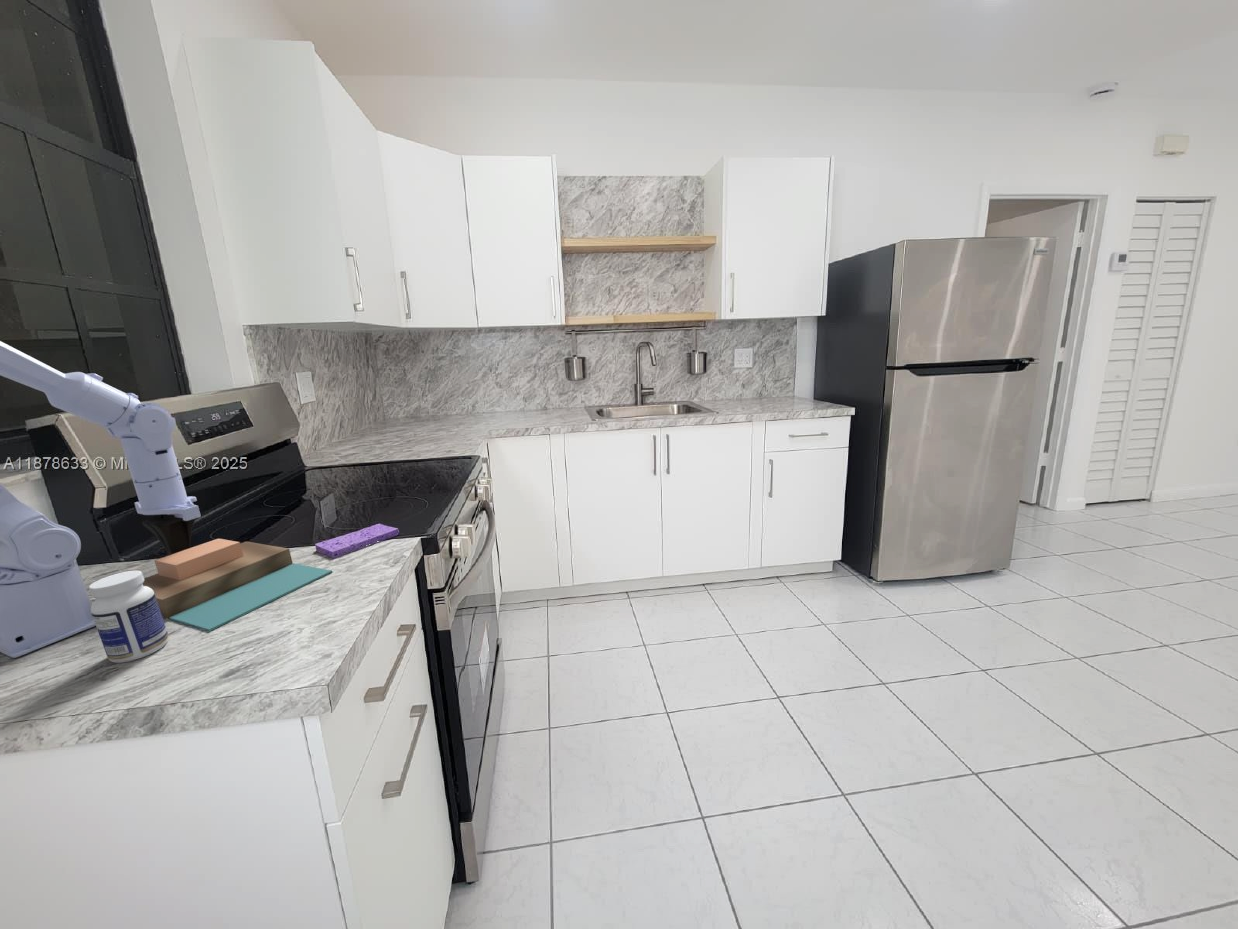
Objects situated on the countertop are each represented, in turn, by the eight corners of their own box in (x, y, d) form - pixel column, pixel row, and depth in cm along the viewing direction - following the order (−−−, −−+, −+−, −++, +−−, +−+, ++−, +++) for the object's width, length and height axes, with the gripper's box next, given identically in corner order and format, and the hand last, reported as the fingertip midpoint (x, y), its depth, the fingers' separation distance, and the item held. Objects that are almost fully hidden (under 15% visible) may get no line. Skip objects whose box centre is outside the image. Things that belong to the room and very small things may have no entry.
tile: (180, 580, 76) (175, 565, 75) (158, 575, 78) (154, 560, 78) (243, 556, 84) (239, 542, 83) (222, 552, 86) (218, 538, 86)
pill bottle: (167, 632, 67) (146, 564, 65) (172, 648, 63) (149, 576, 61) (108, 652, 63) (82, 580, 61) (109, 671, 59) (81, 595, 57)
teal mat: (209, 631, 67) (209, 629, 66) (169, 619, 70) (169, 617, 70) (332, 572, 82) (332, 570, 82) (294, 565, 86) (293, 563, 86)
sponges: (316, 553, 92) (314, 544, 92) (381, 530, 102) (380, 521, 102) (334, 561, 88) (332, 551, 88) (400, 536, 98) (398, 527, 97)
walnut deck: (168, 618, 71) (162, 599, 70) (124, 605, 75) (118, 587, 75) (292, 564, 86) (289, 548, 86) (250, 556, 91) (246, 541, 91)
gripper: (212, 473, 81) (233, 551, 84) (162, 469, 86) (184, 542, 90) (159, 486, 74) (184, 569, 78) (109, 480, 80) (134, 558, 83)
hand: (180, 556), depth 83 cm, fingers closed
